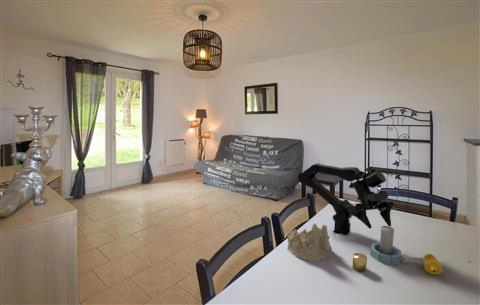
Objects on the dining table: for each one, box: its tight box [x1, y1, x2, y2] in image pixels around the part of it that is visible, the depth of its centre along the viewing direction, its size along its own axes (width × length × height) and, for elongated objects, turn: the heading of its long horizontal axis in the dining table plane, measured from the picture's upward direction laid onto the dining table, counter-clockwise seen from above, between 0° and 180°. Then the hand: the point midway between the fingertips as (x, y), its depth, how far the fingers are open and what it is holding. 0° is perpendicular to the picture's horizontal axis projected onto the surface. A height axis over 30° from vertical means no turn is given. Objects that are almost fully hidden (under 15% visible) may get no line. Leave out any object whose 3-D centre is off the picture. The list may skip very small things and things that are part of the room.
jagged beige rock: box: [286, 223, 333, 263], centre depth 106 cm, size 16×16×15 cm
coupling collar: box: [369, 242, 402, 265], centre depth 102 cm, size 10×10×3 cm
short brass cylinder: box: [352, 252, 368, 274], centre depth 94 cm, size 5×5×5 cm
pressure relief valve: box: [401, 253, 443, 276], centre depth 94 cm, size 6×12×10 cm
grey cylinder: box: [378, 225, 395, 256], centre depth 101 cm, size 4×4×12 cm
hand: (380, 227), depth 103 cm, fingers open, 9 cm apart
